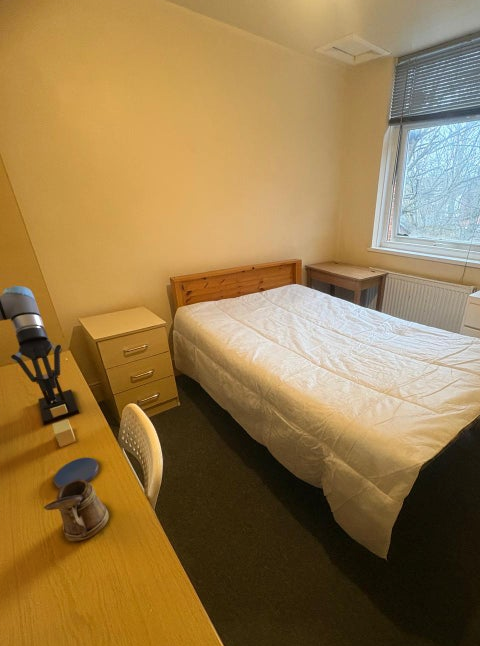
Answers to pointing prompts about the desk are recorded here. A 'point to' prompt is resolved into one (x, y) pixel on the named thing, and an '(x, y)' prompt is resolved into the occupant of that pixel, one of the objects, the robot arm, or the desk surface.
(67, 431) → the butter block
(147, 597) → the desk surface
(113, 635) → the desk surface
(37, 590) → the desk surface
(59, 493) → the wooden mug
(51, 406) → the slicer blade
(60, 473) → the saucer
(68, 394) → the slicer
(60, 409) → the cream block
